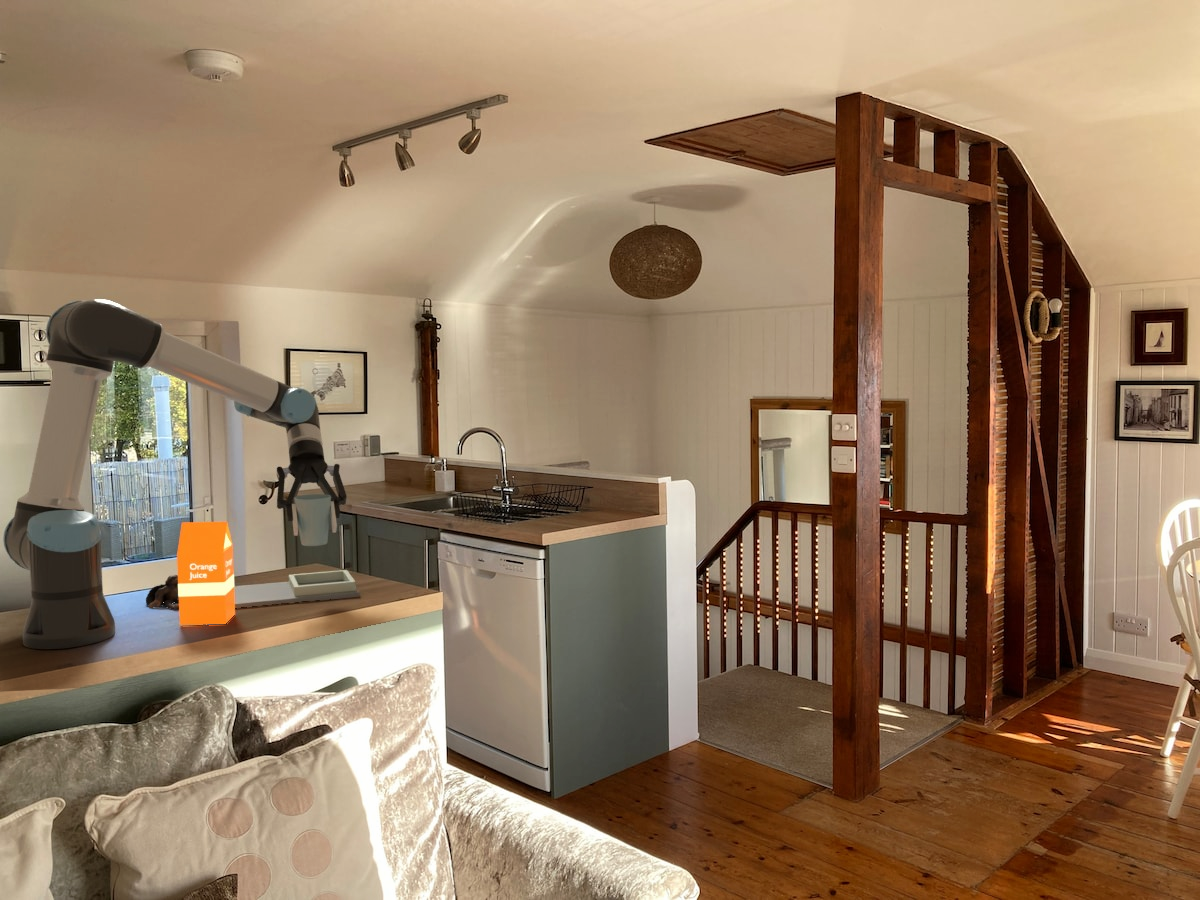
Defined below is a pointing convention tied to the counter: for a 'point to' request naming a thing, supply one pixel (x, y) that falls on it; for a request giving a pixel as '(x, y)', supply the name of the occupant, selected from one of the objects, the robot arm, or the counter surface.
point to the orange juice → (205, 574)
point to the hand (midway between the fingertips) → (315, 530)
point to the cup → (313, 518)
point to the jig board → (298, 589)
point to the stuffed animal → (164, 594)
